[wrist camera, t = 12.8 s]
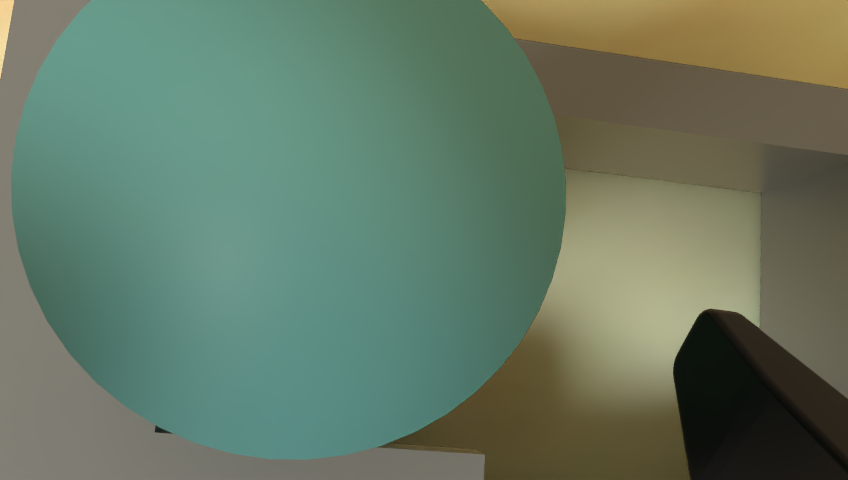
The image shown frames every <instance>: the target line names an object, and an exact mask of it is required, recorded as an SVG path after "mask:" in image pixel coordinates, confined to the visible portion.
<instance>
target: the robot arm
mask: <svg viewBox="0 0 848 480" xmlns="http://www.w3.org/2000/svg"><path fill="white" fill-rule="evenodd" d="M673 376H674V383H675V389H676V396H677V402H678V408H679V414H680V420H681V426H682V433H683V439H684V445H685V451H686V457H687V464H688V470H689V475H690V480H848V398H846V397H845V396H844V395H843V394H841V393H840V392H839V391H838V390H836V389H835V388H834V387H833V386H831V385H830V384H829V383H827V382H826V381H825V380H824V379H822V378H821V377H820V376H819V375H817V374H816V373H815V372H814V371H812V370H811V369H810V368H808V367H807V366H806V365H805V364H803V363H802V362H801V361H800V360H798V359H797V358H796V357H795V356H793V355H792V354H791V353H789V352H788V351H787V350H786V349H784V348H783V347H782V346H781V345H779V344H778V343H777V342H776V341H774V340H773V339H772V338H770V337H769V336H768V335H767V334H765V333H764V332H763V331H762V330H760V329H759V328H758V327H757V326H755V325H754V324H753V323H751V322H750V321H749V320H748V319H746V318H745V317H744V316H742V315H741V314H739V313H736V312H731V311H724V310H716V309H707V310H704V311H703V312H702V313H700V314H699V316H698V317H697V319H696V321H695V323H694V324H693V326H692V328H691V330H690V332H689V333H688V335H687V337H686V339H685V341H684V343H683V344H682V346H681V348H680V350H679V352H678V353H677V356H676V358H675V362H674V367H673Z"/></svg>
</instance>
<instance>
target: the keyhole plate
mask: <svg viewBox="0 0 848 480" xmlns="http://www.w3.org/2000/svg"><path fill="white" fill-rule="evenodd" d="M90 1H91V0H14V6H13V11H12V17H11V23H10V28H9V34H8V40H7V45H6V51H5V57H4V62H3V68H2V73H1V79H0V480H484V466H485V454H483V453H481V452H478V451H476V450H474V449H467V448H453V447H438V446H423V445H409V444H394V443H387V444H385V445H382V446H379V447H375V448H371V449H367V450H363V451H359V452H355V453H352V454H348V455H342V456H334V457H326V458H317V459H309V460H295V459H265V458H258V457H251V456H245V455H238V454H231V453H228V452H224V451H221V450H217V449H214V448H210V447H207V446H204V445H200V444H197V443H193V442H191V441H189V440H187V439H184V438H182V437H180V436H178V435H175V434H173V433H171V432H169V431H166V430H164V429H162V428H160V427H158V426H156V425H154V424H153V423H151V422H150V421H148V420H146V419H145V418H143V417H141V416H140V415H138V414H137V413H135V412H133V411H132V410H130V409H128V408H127V407H125V406H124V405H123V404H122V403H120V402H119V401H118V400H117V399H116V398H114V397H113V396H112V395H111V394H109V393H108V392H107V391H106V390H105V389H103V388H102V387H101V386H100V385H99V384H97V383H96V382H95V381H94V380H93V379H92V378H91V377H90V375H89V374H88V373H87V372H86V371H85V370H84V369H83V368H82V367H81V366H80V365H79V363H78V362H77V361H76V360H75V359H74V358H73V357H72V356H71V355H70V354H69V352H68V351H67V349H66V348H65V346H64V345H63V344H62V342H61V341H60V339H59V338H58V336H57V335H56V333H55V332H54V330H53V329H52V327H51V326H50V325H49V323H48V322H47V320H46V318H45V316H44V314H43V312H42V310H41V308H40V306H39V304H38V302H37V299H36V297H35V295H34V293H33V291H32V289H31V287H30V284H29V281H28V278H27V275H26V272H25V269H24V266H23V263H22V260H21V257H20V254H19V251H18V245H17V239H16V234H15V228H14V222H13V216H12V195H11V172H12V163H13V154H14V145H15V138H16V135H17V131H18V127H19V123H20V119H21V116H22V112H23V108H24V104H25V102H26V99H27V97H28V95H29V92H30V90H31V87H32V85H33V83H34V80H35V78H36V76H37V73H38V71H39V69H40V67H41V66H42V64H43V62H44V61H45V59H46V57H47V56H48V54H49V52H50V51H51V49H52V47H53V46H54V44H55V42H56V40H57V39H58V38H59V36H60V35H61V34H62V33H63V31H64V30H65V29H66V28H67V26H68V25H69V24H70V23H71V21H72V20H73V19H74V18H75V16H76V15H77V14H78V13H79V11H80V10H81V9H83V8H84V7H85V6H86V5H87V4H88V3H89V2H90ZM514 39H515V38H514ZM515 41H516V42H517V44H518V45H519V46H520V48H521V49H522V51H523V52H524V53H525V55H526V56H527V58H528V60H529V62H530V64H531V66H532V68H533V70H534V71H535V73H536V75H537V77H538V79H539V81H540V83H541V84H542V87H543V89H544V92H545V95H546V97H547V100H548V102H549V105H550V107H551V110H552V113H553V115H554V119H555V123H556V127H557V131H558V135H559V139H560V143H561V147H562V154H563V163H564V168H568V169H576V170H584V171H592V172H600V173H608V174H616V175H624V176H631V177H639V178H647V179H655V180H663V181H671V182H679V183H687V184H694V185H702V186H710V187H718V188H726V189H734V190H742V191H750V192H757V193H762V208H761V287H760V330H762V331H763V332H764V333H765V334H767V335H768V336H769V337H770V338H772V339H773V340H774V341H776V342H777V343H778V344H779V345H781V346H782V347H783V348H784V349H786V350H787V351H788V352H789V353H791V354H792V355H793V356H795V357H796V358H797V359H798V360H800V361H801V362H802V363H803V364H805V365H806V366H807V367H808V368H810V369H811V370H812V371H814V372H815V373H816V374H817V375H819V376H820V377H821V378H822V379H824V380H825V381H826V382H827V383H829V384H830V385H831V386H833V387H834V388H835V389H836V390H838V391H839V392H840V393H841V394H843V395H844V396H845V397H846V398H848V89H844V88H837V87H831V86H824V85H817V84H811V83H804V82H798V81H791V80H784V79H778V78H771V77H765V76H758V75H752V74H745V73H738V72H732V71H725V70H719V69H712V68H706V67H699V66H692V65H686V64H679V63H673V62H666V61H659V60H653V59H646V58H640V57H633V56H627V55H620V54H613V53H607V52H600V51H594V50H587V49H580V48H574V47H567V46H561V45H554V44H548V43H541V42H534V41H528V40H521V39H515Z"/></svg>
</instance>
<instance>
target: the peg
mask: <svg viewBox="0 0 848 480" xmlns="http://www.w3.org/2000/svg"><path fill="white" fill-rule="evenodd" d="M11 195H12V216H13V222H14V228H15V234H16V239H17V245H18V251H19V254H20V257H21V260H22V263H23V266H24V269H25V272H26V275H27V278H28V281H29V284H30V287H31V289H32V291H33V293H34V295H35V297H36V299H37V302H38V304H39V306H40V308H41V310H42V312H43V314H44V316H45V318H46V320H47V322H48V323H49V325H50V326H51V327H52V329H53V330H54V332H55V333H56V335H57V336H58V338H59V339H60V341H61V342H62V344H63V345H64V346H65V348H66V349H67V351H68V352H69V354H70V355H71V356H72V357H73V358H74V359H75V360H76V361H77V362H78V363H79V365H80V366H81V367H82V368H83V369H84V370H85V371H86V372H87V373H88V374H89V375H90V377H91V378H92V379H93V380H94V381H95V382H96V383H97V384H99V385H100V386H101V387H102V388H103V389H105V390H106V391H107V392H108V393H109V394H111V395H112V396H113V397H114V398H116V399H117V400H118V401H119V402H120V403H122V404H123V405H124V406H125V407H127V408H128V409H130V410H132V411H133V412H135V413H137V414H138V415H140V416H141V417H143V418H145V419H146V420H148V421H150V422H151V423H153V424H154V425H156V426H158V427H160V428H162V429H164V430H166V431H169V432H171V433H173V434H175V435H178V436H180V437H182V438H184V439H187V440H189V441H191V442H193V443H197V444H200V445H204V446H207V447H210V448H214V449H217V450H221V451H224V452H228V453H231V454H238V455H245V456H251V457H258V458H265V459H295V460H309V459H317V458H326V457H334V456H342V455H348V454H352V453H355V452H359V451H363V450H367V449H371V448H375V447H379V446H382V445H385V444H387V443H390V442H392V441H394V440H397V439H399V438H402V437H404V436H407V435H409V434H412V433H414V432H416V431H418V430H420V429H422V428H423V427H425V426H427V425H429V424H430V423H432V422H434V421H436V420H437V419H439V418H441V417H443V416H444V415H446V414H448V413H449V412H450V411H452V410H453V409H454V408H456V407H457V406H458V405H460V404H461V403H462V402H464V401H465V400H466V399H468V398H469V397H470V396H471V395H473V394H474V393H475V392H476V391H477V390H478V389H479V388H480V387H482V386H483V385H484V384H485V383H486V382H487V381H488V380H489V379H490V378H491V377H492V376H493V375H494V374H495V373H496V372H497V371H498V370H499V369H500V368H501V366H502V365H503V364H504V362H505V361H506V360H507V359H508V357H509V356H510V355H511V353H512V352H513V351H514V350H515V348H516V347H517V346H518V344H519V343H520V342H521V340H522V339H523V337H524V335H525V334H526V332H527V330H528V329H529V327H530V325H531V323H532V322H533V320H534V318H535V317H536V315H537V313H538V311H539V309H540V307H541V305H542V302H543V300H544V297H545V295H546V293H547V290H548V288H549V285H550V283H551V281H552V278H553V274H554V270H555V267H556V263H557V259H558V255H559V252H560V248H561V242H562V235H563V228H564V220H565V200H566V179H565V171H564V163H563V154H562V147H561V143H560V139H559V135H558V131H557V127H556V123H555V119H554V115H553V113H552V110H551V107H550V105H549V102H548V100H547V97H546V95H545V92H544V89H543V87H542V84H541V83H540V81H539V79H538V77H537V75H536V73H535V71H534V70H533V68H532V66H531V64H530V62H529V60H528V58H527V56H526V55H525V53H524V52H523V51H522V49H521V48H520V46H519V45H518V44H517V42H516V41H515V39H514V38H513V36H512V35H511V34H510V32H509V31H508V29H507V28H506V27H505V26H504V25H503V24H502V23H501V21H500V20H499V19H498V18H497V17H496V16H495V15H494V14H493V13H492V12H491V10H490V9H489V8H488V7H487V6H486V5H485V4H484V3H483V2H482V1H481V0H91V1H90V2H89V3H88V4H87V5H86V6H85V7H84V8H83V9H81V10H80V11H79V13H78V14H77V15H76V16H75V18H74V19H73V20H72V21H71V23H70V24H69V25H68V26H67V28H66V29H65V30H64V31H63V33H62V34H61V35H60V36H59V38H58V39H57V40H56V42H55V44H54V46H53V47H52V49H51V51H50V52H49V54H48V56H47V57H46V59H45V61H44V62H43V64H42V66H41V67H40V69H39V71H38V73H37V76H36V78H35V80H34V83H33V85H32V87H31V90H30V92H29V95H28V97H27V99H26V102H25V104H24V108H23V112H22V116H21V119H20V123H19V127H18V131H17V135H16V138H15V145H14V154H13V163H12V172H11Z"/></svg>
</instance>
